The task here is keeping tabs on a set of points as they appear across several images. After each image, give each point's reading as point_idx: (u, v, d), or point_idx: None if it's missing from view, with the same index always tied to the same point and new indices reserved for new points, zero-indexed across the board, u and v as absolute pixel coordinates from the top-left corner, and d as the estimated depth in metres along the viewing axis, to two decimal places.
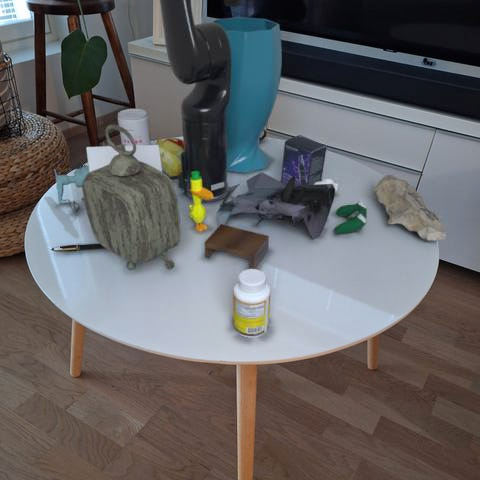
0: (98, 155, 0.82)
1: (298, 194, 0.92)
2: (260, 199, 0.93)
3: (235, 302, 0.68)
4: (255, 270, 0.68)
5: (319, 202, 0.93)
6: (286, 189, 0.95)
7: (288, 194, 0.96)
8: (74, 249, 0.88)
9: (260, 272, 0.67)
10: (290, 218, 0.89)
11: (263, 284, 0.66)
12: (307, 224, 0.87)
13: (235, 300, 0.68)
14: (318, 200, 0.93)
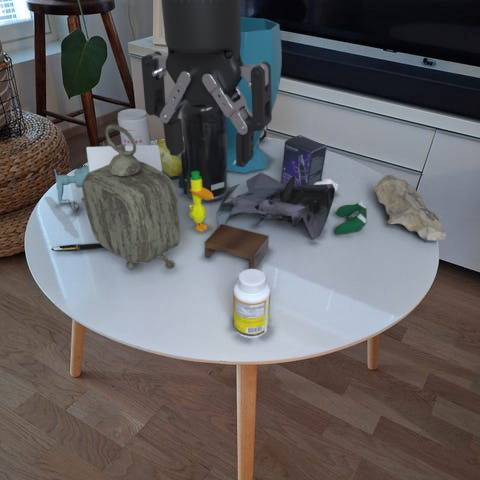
0: (98, 155, 0.82)
1: (298, 194, 0.92)
2: (260, 199, 0.93)
3: (235, 302, 0.68)
4: (255, 270, 0.68)
5: (318, 202, 0.93)
6: (286, 189, 0.95)
7: (288, 194, 0.96)
8: (74, 249, 0.88)
9: (260, 272, 0.67)
10: (290, 218, 0.88)
11: (263, 284, 0.66)
12: (307, 224, 0.87)
13: (235, 300, 0.68)
14: (318, 200, 0.93)
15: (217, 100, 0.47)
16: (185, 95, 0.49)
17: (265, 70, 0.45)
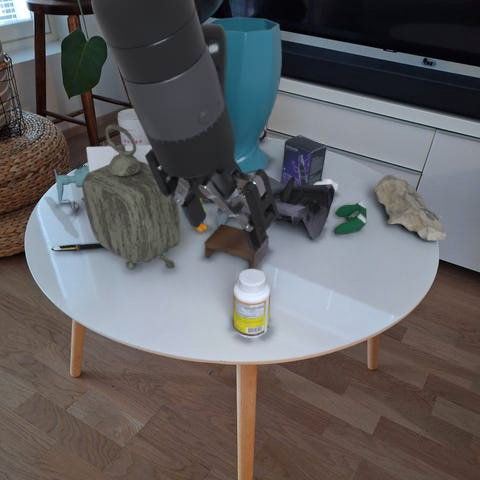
0: (98, 155, 0.82)
1: (297, 194, 0.92)
2: None
3: (235, 302, 0.68)
4: (255, 270, 0.68)
5: (318, 202, 0.93)
6: (285, 190, 0.95)
7: (288, 194, 0.96)
8: (74, 249, 0.88)
9: (260, 272, 0.67)
10: (289, 218, 0.88)
11: (263, 284, 0.66)
12: (306, 224, 0.87)
13: (235, 300, 0.68)
14: (317, 200, 0.93)
15: (217, 204, 0.46)
16: (190, 190, 0.48)
17: (258, 185, 0.42)
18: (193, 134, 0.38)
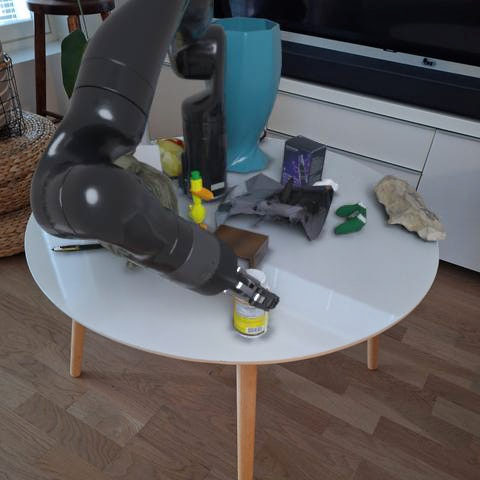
0: None
1: (296, 195, 0.91)
2: (258, 200, 0.93)
3: (235, 302, 0.68)
4: (256, 270, 0.68)
5: (317, 203, 0.93)
6: (284, 190, 0.95)
7: (287, 195, 0.96)
8: (74, 249, 0.88)
9: (260, 272, 0.67)
10: (288, 219, 0.88)
11: (263, 284, 0.66)
12: (305, 225, 0.87)
13: (235, 300, 0.68)
14: (316, 201, 0.93)
15: (236, 296, 0.63)
16: None
17: (258, 300, 0.59)
18: (200, 284, 0.55)
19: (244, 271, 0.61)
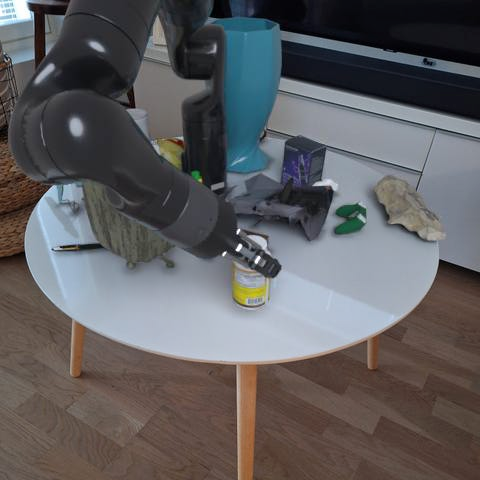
0: None
1: (296, 195, 0.91)
2: (258, 200, 0.93)
3: (234, 270, 0.65)
4: (256, 236, 0.64)
5: (317, 203, 0.93)
6: (284, 191, 0.95)
7: (286, 195, 0.96)
8: (74, 249, 0.88)
9: (261, 238, 0.64)
10: (287, 219, 0.88)
11: None
12: (304, 226, 0.87)
13: (234, 268, 0.64)
14: (316, 202, 0.93)
15: (236, 261, 0.59)
16: None
17: (259, 263, 0.55)
18: (197, 244, 0.51)
19: (244, 234, 0.57)
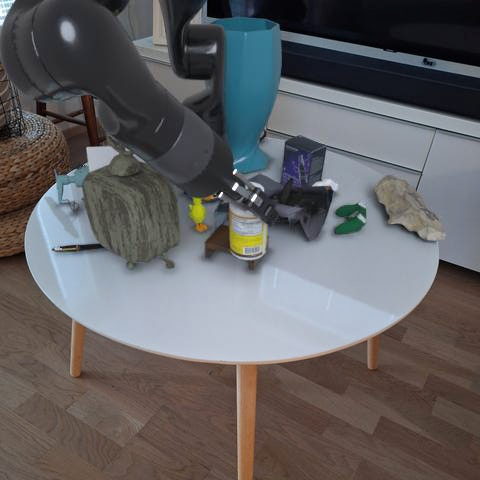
0: (98, 155, 0.82)
1: (295, 196, 0.91)
2: None
3: (231, 218, 0.64)
4: (253, 183, 0.63)
5: (316, 204, 0.93)
6: (284, 191, 0.95)
7: (286, 195, 0.95)
8: (74, 249, 0.88)
9: (258, 185, 0.63)
10: (286, 220, 0.88)
11: None
12: (303, 226, 0.87)
13: (231, 215, 0.64)
14: (316, 202, 0.93)
15: (232, 204, 0.59)
16: None
17: (256, 201, 0.54)
18: (192, 178, 0.51)
19: (240, 174, 0.57)
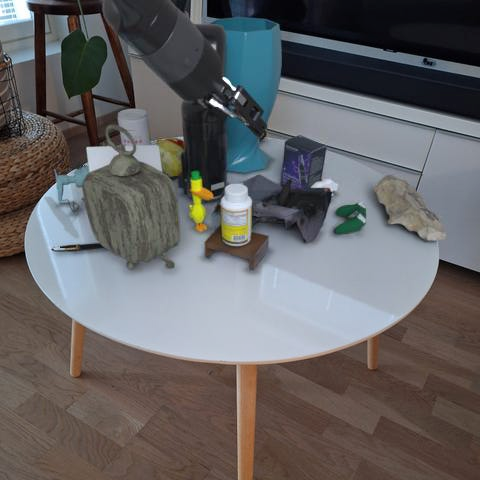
0: (98, 155, 0.82)
1: (293, 197, 0.91)
2: (255, 201, 0.92)
3: (222, 212, 0.81)
4: (239, 184, 0.80)
5: (314, 206, 0.92)
6: (282, 192, 0.94)
7: (284, 196, 0.95)
8: (74, 249, 0.88)
9: (243, 186, 0.80)
10: (284, 221, 0.88)
11: (245, 195, 0.79)
12: (300, 228, 0.86)
13: (222, 210, 0.80)
14: (314, 204, 0.92)
15: (221, 111, 0.66)
16: None
17: (238, 98, 0.61)
18: (185, 76, 0.58)
19: (228, 81, 0.64)
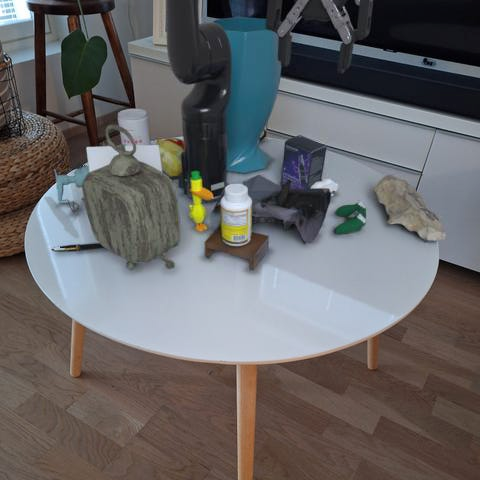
0: (98, 155, 0.82)
1: (292, 198, 0.90)
2: (254, 202, 0.92)
3: (222, 212, 0.81)
4: (239, 184, 0.80)
5: (313, 206, 0.92)
6: (281, 193, 0.94)
7: (284, 197, 0.95)
8: (74, 249, 0.88)
9: (243, 186, 0.80)
10: (282, 222, 0.87)
11: (245, 195, 0.79)
12: (299, 228, 0.86)
13: (222, 210, 0.80)
14: (313, 204, 0.92)
15: (330, 14, 0.61)
16: (302, 12, 0.63)
17: None
18: None
19: None
